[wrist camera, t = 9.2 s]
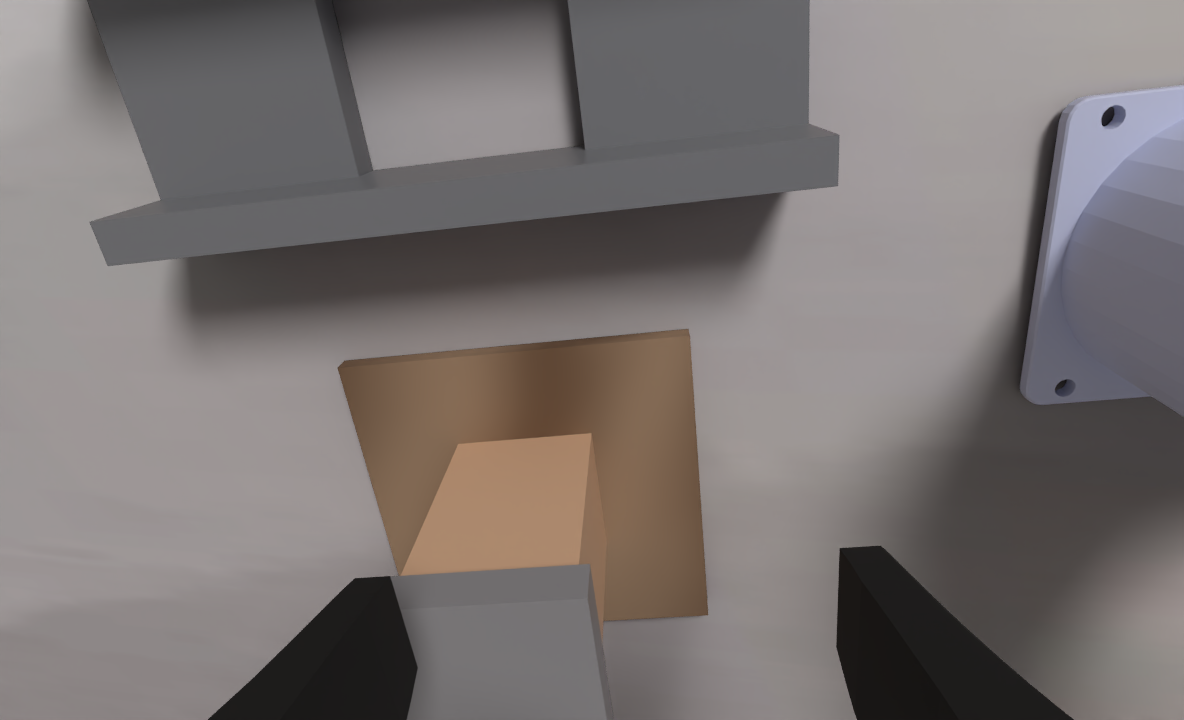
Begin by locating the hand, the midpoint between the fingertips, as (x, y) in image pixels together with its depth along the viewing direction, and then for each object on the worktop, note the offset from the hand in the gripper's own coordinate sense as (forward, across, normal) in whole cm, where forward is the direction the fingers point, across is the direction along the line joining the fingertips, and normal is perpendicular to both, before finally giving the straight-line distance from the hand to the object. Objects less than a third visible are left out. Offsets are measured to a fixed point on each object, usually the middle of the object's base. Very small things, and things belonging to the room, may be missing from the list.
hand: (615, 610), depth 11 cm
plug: (+9, +3, +4) cm, 10 cm away
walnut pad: (+9, +3, +4) cm, 11 cm away
